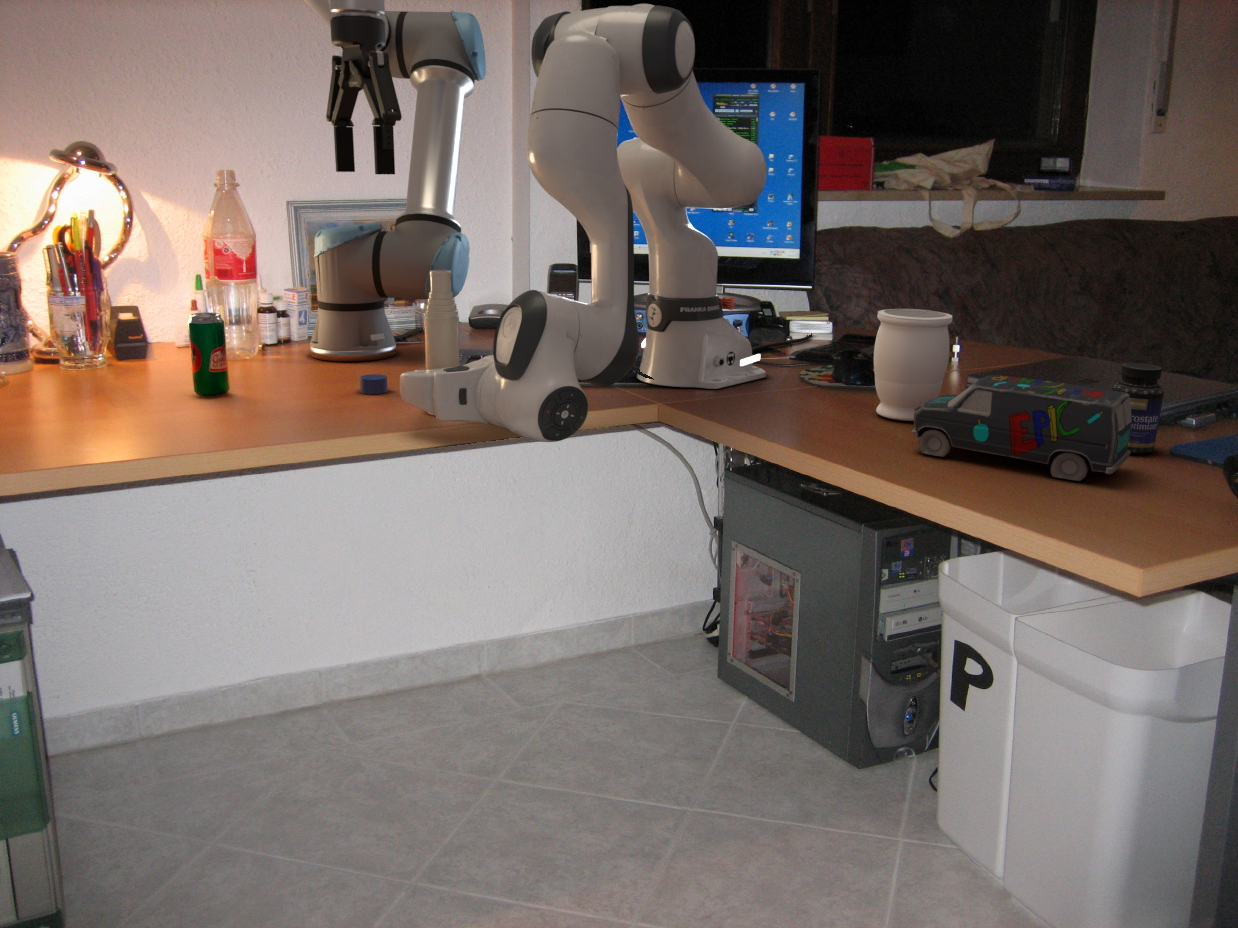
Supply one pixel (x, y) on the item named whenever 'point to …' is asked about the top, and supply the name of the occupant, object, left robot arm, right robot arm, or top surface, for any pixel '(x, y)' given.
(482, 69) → the left robot arm
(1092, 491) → the top surface
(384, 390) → the cap
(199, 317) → the soda can
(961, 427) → the toy van
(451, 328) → the bottle
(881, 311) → the jar
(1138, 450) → the pill bottle
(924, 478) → the top surface
